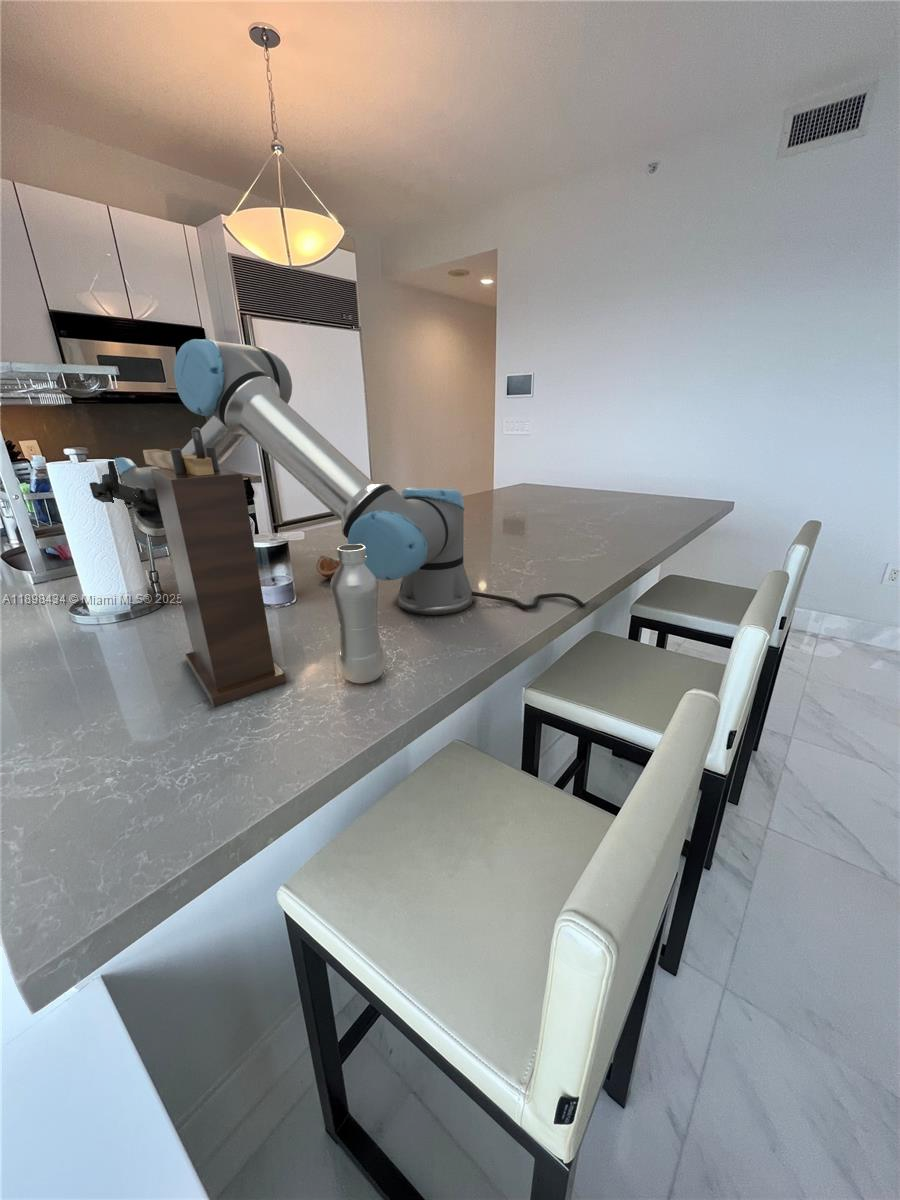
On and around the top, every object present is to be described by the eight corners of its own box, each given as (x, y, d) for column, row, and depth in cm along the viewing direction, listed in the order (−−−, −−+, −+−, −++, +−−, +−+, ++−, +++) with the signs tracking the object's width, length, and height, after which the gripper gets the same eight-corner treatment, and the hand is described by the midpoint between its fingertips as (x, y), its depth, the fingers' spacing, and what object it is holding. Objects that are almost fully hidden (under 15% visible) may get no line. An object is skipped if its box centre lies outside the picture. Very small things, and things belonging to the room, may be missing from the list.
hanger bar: (214, 474, 60) (205, 427, 58) (197, 476, 59) (187, 427, 57) (160, 462, 74) (151, 424, 72) (145, 464, 73) (136, 424, 71)
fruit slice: (357, 578, 115) (356, 557, 113) (336, 586, 110) (334, 565, 108) (333, 572, 119) (331, 552, 118) (311, 579, 114) (309, 559, 112)
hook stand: (286, 682, 72) (249, 448, 60) (214, 707, 66) (156, 453, 54) (251, 644, 83) (214, 442, 71) (187, 662, 78) (135, 446, 66)
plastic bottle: (377, 691, 69) (366, 555, 62) (333, 686, 71) (317, 553, 63) (391, 668, 75) (383, 542, 68) (350, 664, 76) (337, 540, 69)
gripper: (75, 501, 92) (62, 449, 75) (215, 487, 107) (231, 441, 89) (87, 539, 92) (76, 495, 75) (225, 520, 106) (243, 479, 89)
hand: (160, 465), depth 82 cm, fingers open, 13 cm apart
